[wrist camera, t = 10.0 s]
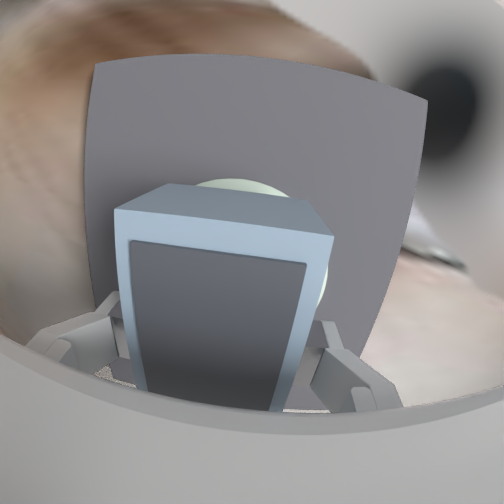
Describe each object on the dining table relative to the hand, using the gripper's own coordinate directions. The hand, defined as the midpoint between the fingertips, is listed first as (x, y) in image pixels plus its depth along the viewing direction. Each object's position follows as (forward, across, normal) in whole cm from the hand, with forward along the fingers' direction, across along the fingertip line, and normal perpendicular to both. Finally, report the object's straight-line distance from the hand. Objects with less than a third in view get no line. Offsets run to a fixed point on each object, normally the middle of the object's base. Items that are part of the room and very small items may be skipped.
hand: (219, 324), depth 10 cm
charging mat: (+5, 0, 0) cm, 5 cm away
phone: (+2, 0, 0) cm, 2 cm away
